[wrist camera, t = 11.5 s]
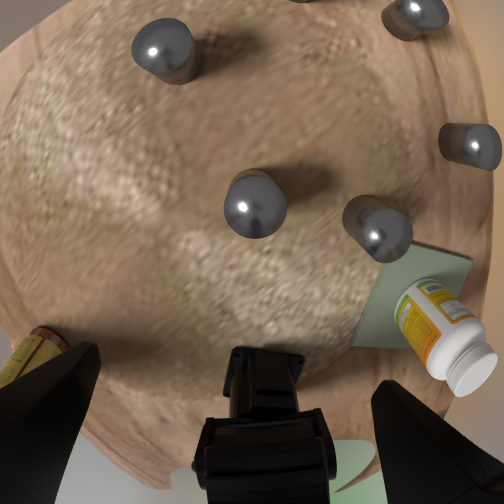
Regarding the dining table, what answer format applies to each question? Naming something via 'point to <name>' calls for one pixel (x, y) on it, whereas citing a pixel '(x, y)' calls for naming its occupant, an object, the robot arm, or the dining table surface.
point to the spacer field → (262, 184)
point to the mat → (396, 282)
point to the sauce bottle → (32, 354)
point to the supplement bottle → (445, 336)
